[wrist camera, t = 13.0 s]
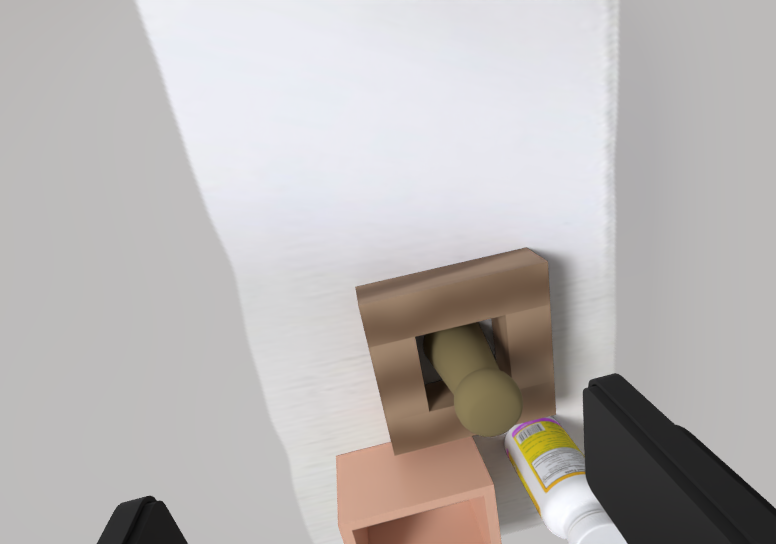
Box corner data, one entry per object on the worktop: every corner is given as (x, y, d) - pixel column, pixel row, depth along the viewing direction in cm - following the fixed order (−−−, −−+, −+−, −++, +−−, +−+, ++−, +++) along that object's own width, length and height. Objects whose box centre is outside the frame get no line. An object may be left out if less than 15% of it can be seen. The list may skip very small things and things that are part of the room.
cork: (494, 344, 42) (550, 418, 31) (445, 379, 42) (484, 463, 32) (461, 301, 39) (510, 366, 29) (410, 339, 40) (440, 416, 30)
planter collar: (336, 456, 44) (338, 525, 36) (465, 423, 44) (493, 484, 37) (360, 535, 48) (366, 611, 41) (478, 503, 49) (505, 573, 41)
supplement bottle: (545, 463, 48) (617, 577, 36) (493, 455, 47) (550, 572, 35) (569, 415, 46) (654, 519, 34) (515, 406, 45) (585, 511, 33)
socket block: (355, 286, 37) (358, 305, 34) (526, 247, 38) (547, 261, 35) (388, 426, 43) (394, 455, 40) (536, 389, 44) (555, 414, 40)
